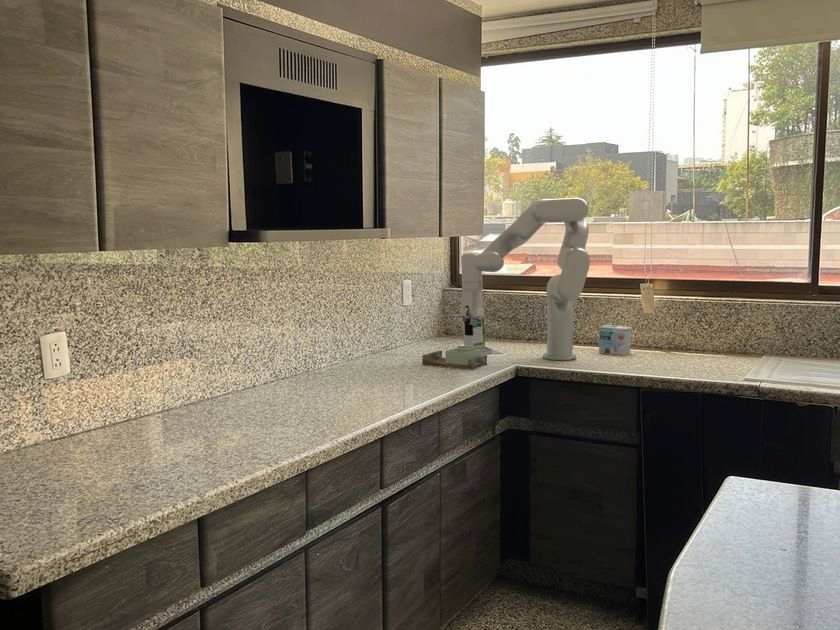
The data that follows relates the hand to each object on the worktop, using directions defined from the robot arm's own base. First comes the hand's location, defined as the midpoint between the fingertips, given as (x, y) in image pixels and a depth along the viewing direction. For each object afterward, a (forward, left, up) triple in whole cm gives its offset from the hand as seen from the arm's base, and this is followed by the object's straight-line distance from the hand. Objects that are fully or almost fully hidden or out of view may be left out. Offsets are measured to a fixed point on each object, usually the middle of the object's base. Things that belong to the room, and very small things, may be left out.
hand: (474, 333), depth 286 cm
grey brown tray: (+13, -1, -10) cm, 16 cm away
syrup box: (0, 0, -5) cm, 5 cm away
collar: (+13, +2, -9) cm, 16 cm away
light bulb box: (-41, +41, -10) cm, 59 cm away
